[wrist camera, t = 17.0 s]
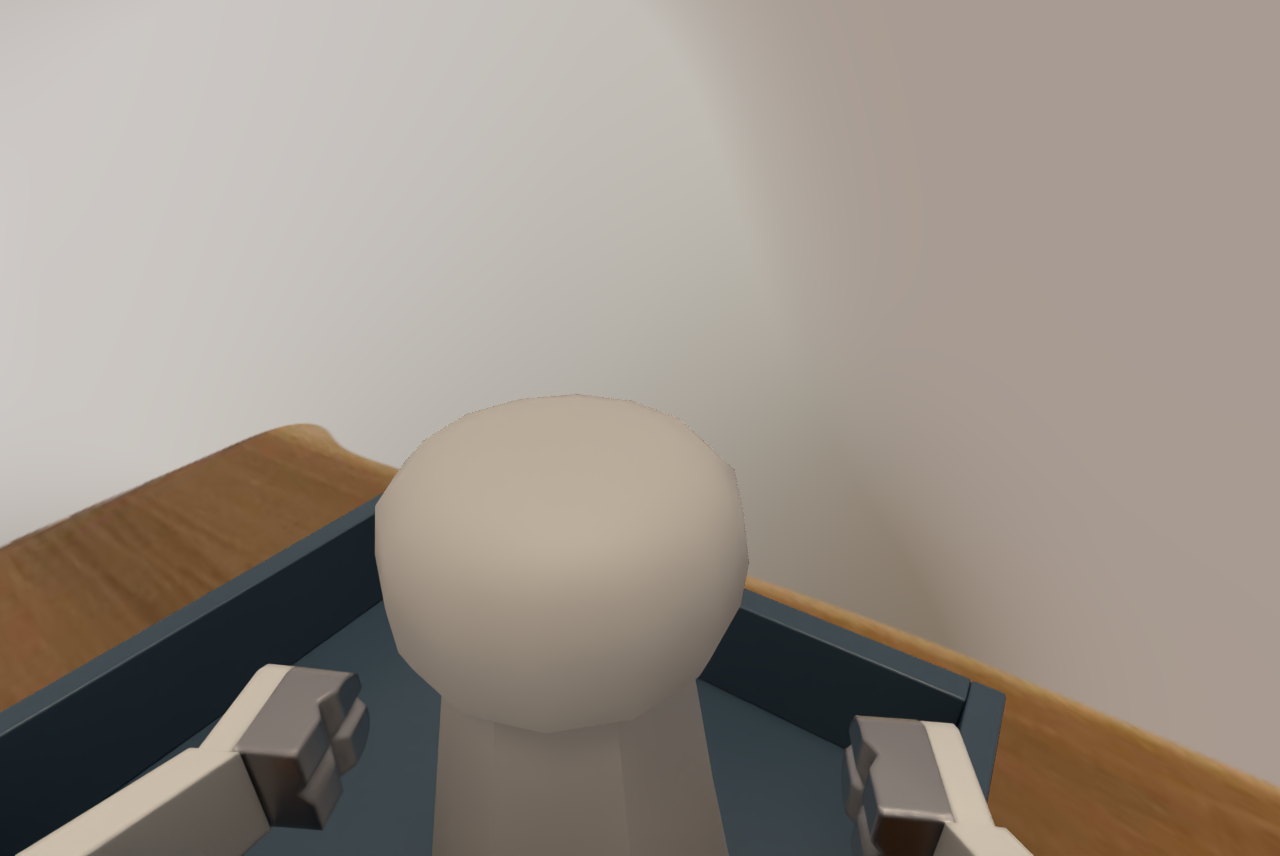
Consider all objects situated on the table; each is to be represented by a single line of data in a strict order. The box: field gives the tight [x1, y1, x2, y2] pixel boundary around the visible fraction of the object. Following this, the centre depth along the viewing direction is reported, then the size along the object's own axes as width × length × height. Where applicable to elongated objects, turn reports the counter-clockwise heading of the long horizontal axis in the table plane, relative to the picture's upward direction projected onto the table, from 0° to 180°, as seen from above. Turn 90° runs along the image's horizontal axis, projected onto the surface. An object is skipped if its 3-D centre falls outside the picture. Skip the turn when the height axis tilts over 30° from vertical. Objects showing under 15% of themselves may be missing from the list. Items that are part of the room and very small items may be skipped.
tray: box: [0, 493, 1006, 856], centre depth 16 cm, size 20×16×4 cm
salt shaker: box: [375, 394, 749, 856], centre depth 11 cm, size 6×6×13 cm
